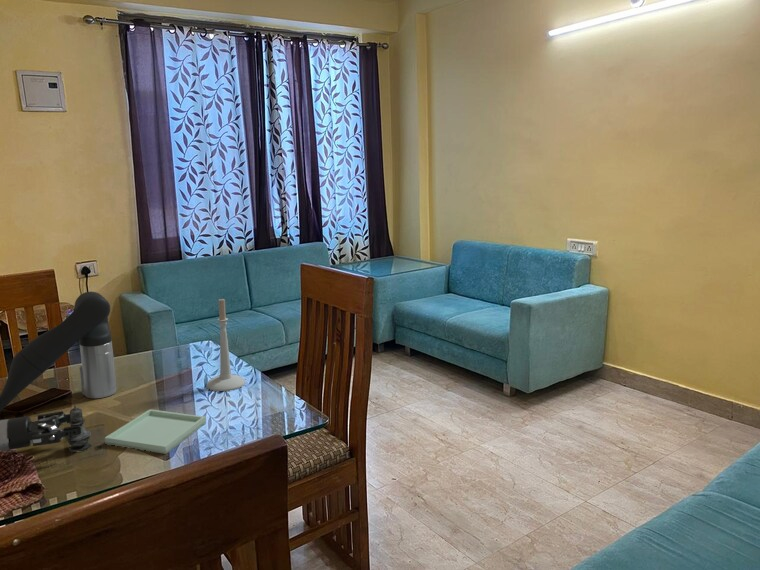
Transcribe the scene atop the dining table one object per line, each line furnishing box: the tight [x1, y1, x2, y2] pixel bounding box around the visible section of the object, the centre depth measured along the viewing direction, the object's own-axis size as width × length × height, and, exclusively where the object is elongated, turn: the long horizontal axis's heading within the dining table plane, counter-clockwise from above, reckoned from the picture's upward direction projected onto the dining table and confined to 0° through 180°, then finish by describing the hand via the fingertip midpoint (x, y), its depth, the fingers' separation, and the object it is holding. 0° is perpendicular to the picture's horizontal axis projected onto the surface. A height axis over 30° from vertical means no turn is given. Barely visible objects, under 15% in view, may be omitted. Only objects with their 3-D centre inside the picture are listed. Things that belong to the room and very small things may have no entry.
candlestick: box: [206, 297, 247, 392], centre depth 190 cm, size 13×13×30 cm
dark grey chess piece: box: [65, 404, 92, 453], centre depth 148 cm, size 6×6×12 cm
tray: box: [104, 408, 207, 455], centre depth 157 cm, size 19×19×2 cm
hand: (81, 422), depth 148 cm, fingers open, 8 cm apart
